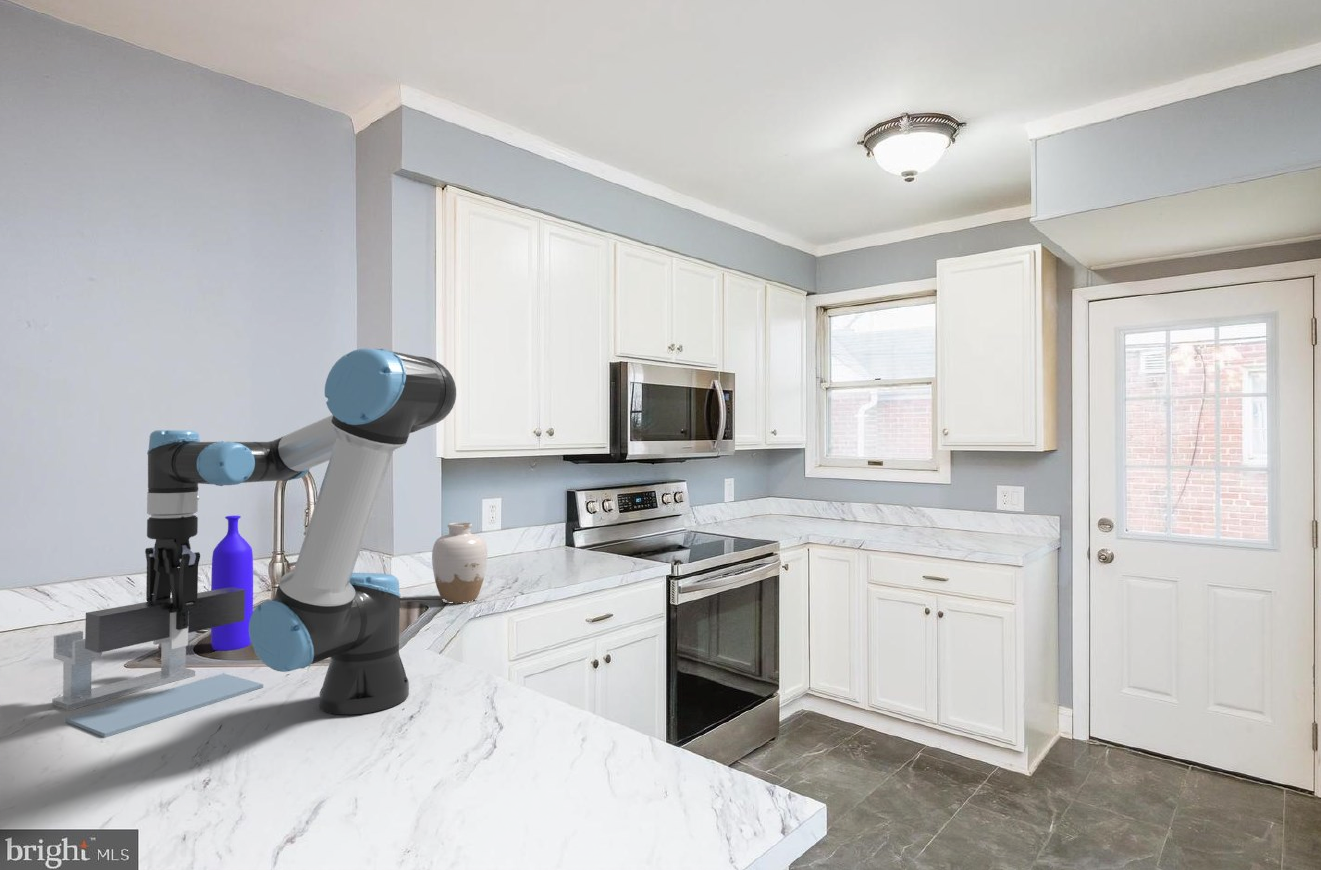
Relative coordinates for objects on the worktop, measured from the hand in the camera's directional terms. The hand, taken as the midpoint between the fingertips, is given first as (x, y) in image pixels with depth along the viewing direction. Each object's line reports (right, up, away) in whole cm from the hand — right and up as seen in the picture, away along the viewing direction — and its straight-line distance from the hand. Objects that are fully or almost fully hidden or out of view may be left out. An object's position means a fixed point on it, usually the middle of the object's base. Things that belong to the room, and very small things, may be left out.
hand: (170, 644), depth 126 cm
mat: (0, -11, 0) cm, 11 cm away
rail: (0, +2, 0) cm, 2 cm away
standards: (-13, -11, +7) cm, 18 cm away
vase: (+29, -12, +82) cm, 88 cm away
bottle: (-10, -11, +35) cm, 38 cm away
